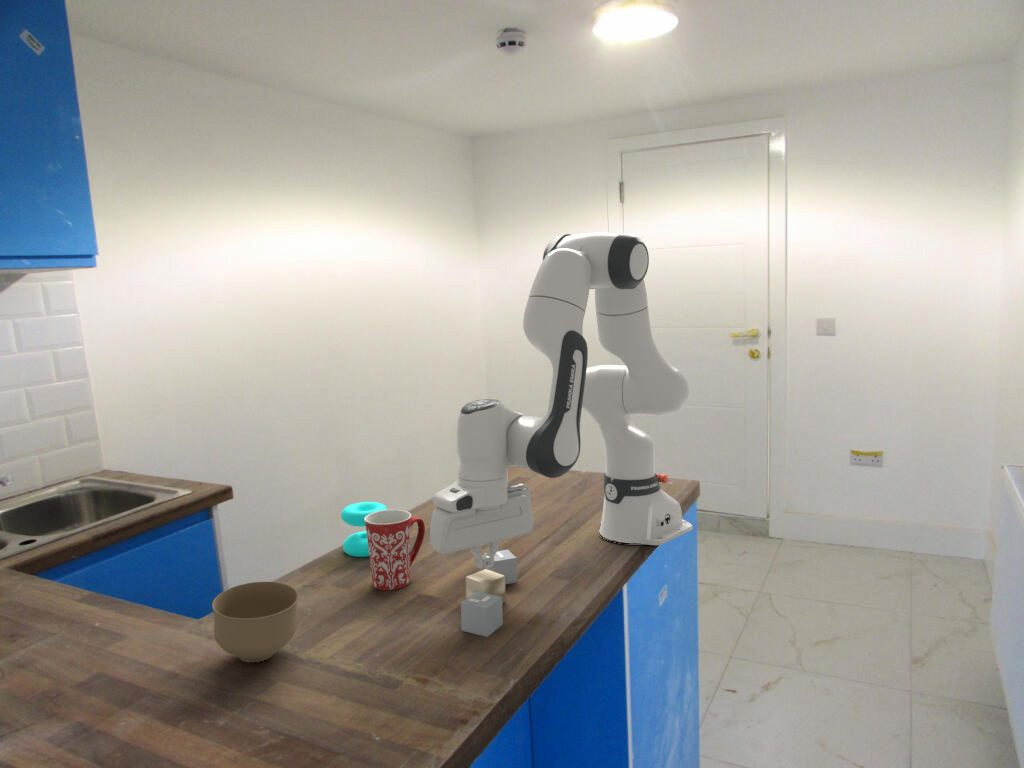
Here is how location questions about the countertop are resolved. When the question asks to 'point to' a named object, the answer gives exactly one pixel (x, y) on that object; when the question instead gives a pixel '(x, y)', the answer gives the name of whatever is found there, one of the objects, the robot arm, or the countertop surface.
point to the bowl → (255, 619)
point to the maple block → (486, 583)
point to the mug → (392, 547)
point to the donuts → (355, 517)
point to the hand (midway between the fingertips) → (484, 566)
